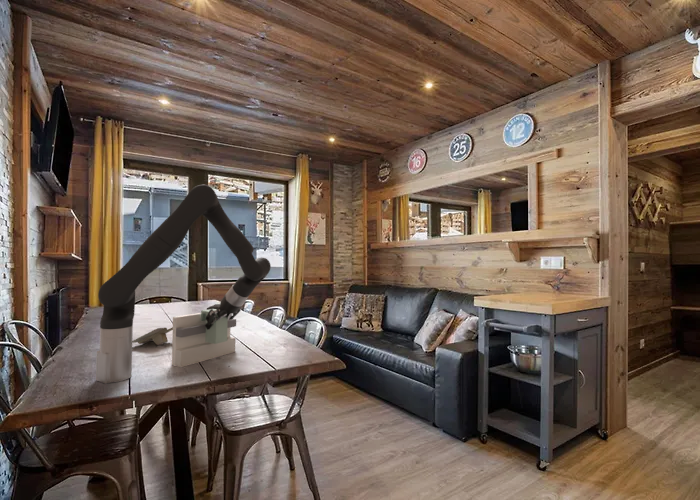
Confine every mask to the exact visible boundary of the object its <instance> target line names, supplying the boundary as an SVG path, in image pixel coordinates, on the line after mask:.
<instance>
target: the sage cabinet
mask: <svg viewBox="0 0 700 500" xmlns="http://www.w3.org/2000/svg"><path fill="white" fill-rule="evenodd" d="M210 310H211V309H209V310H207V309H204V310H200V313H201V321H205V320H206V319H205V318H206V317H207V315H208V313H209V311H210ZM214 310H217V309H213V311H214ZM216 317H218V315H217V313H216ZM218 318H219V317H218ZM213 320H215V318H213ZM206 323H207V320H206ZM227 325H228V319H227V318H226V317H223V318H221V319H220V320H219V321H216V322H215V323H214V324H213V325H212V327H211V328H210V329H208V330H207V328H206V342H209V343H214V344H217V343H221V342H225V341H227Z"/></svg>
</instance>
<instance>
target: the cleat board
mask: <svg viewBox="0 0 700 500" xmlns="http://www.w3.org/2000/svg"><path fill="white" fill-rule="evenodd" d="M205 325H206V320H205V321H201V312H198V313H191V314H185V315H178V316H173V317H172V327H173V330H172V337H171V338H172V340H171V341H172V344H171V366H175V367H177V368H183V367H186V366H190V365H194V364H198V363H201V362H204V361H208V360H212V359H215V358H219V357H222V356H225V355H226V356H227V355H229V354H232V353H236V337H233V336H231V328H235V327H237V318H233V319H232V320H230V319H229V320H228V325H227V341H225V342H221V343H217V344H214V343H209V342H206V326H205Z"/></svg>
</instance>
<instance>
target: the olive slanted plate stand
mask: <svg viewBox="0 0 700 500" xmlns="http://www.w3.org/2000/svg"><path fill="white" fill-rule="evenodd" d="M171 331H173V326H172V327H170V328H167V327H158V328H155V329H154V330H152V331H149V332H147V333H145V334H144V335H142V336H139V337H138V338H136V339H132V344H134V343H137V344H138V345H143V344H147V343H148V342H152V341H153V342H154V344H155V345H156V346H162V345H164V344H166V343H168V342H169V340H168V337H167V333H169V332H171Z"/></svg>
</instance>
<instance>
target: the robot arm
mask: <svg viewBox="0 0 700 500" xmlns="http://www.w3.org/2000/svg"><path fill="white" fill-rule="evenodd" d="M218 198H219V197H218V195H217V192H216V191H215V190H214V189H213V187H211V186H210V185H207V184H199V185H196V186H193V187H192V189H191V190H190V191H189V192H188V193H187V194H186V195H185V197H184V199H183V200H182V201H181V203H180V204H179V205H178V206H177V207H176V208H175V210H174V211H173V212H172V213H171V214H170V215H168V217H167V218H166V219H165V220H164V221H163V222H161V224H160V225H159V226H158V227H157V228H156V229H155V230H153V232H152V233H151V234H150V235H148V237H147V238H146V239H145V240H144V241H143V243H142V244H141V245H140V246H139V247H138V249H137V250H136V251H135V252H134V254H132V256H131V257H130V259H129V260H128V261H127V262H126V264H125V265H124V266H122V267H121V268H120V269H119V270H118V271H117V272H115V273H114V274H113V275H112V276H111V277H110V278H109V279H108V280H107V281H105V282H104V283H103V284H102V285H101V286H100V288H99V290H98V295H97V296H98V297H97V298H98V300H99V302H100V304H101V305H102V306H103V307H102V308H103V312H102V315H101V318H100V322H99V350H97V351H96V356H95V357H96V360H95V361H96V362H95V363H96V364H95V381H97V382H99V383H102V384H110V383H117V382H121V381H125V380H128V379H130V378H131V377H132V375H133V373H132V371H133V343H132V341H133V333H134V332H133V331H134V329H133V328H134V327H133V325H134V318H135V310H136V290H137V288H138V287H139V285H140V284H142V282H143V281H144V280H145V279H146V278H147V277H148V276H149V275H150V274H151V273H152V272H154V271H155V270H157V269H158V268H159V267H161V266H162V265H163V263H165V262H166V261H167V260H168V258H170V257H171V256H172V255H173V254H174V253H175V252H176V250H177V249H178V248H179V247H180V245H181V244H182V243H183V241H184V239H185V237H186V236H187V234H188V232H189V230H190V229H191V227H192V225H193V224H194V223H195V222H196V221H197V220H199V218H200V217H201V216H203V218H205V219H206V220H207V221H208V222H209V223H210V224H211V225H212V226H213V227H214V229H215V230H216V231H217V233H218V234H219V235H220V237H221V239H222V240H223V242H224V243H225V244H226V246H227V247H228V248H229V250H230V251H231V252H232V254H233V255H234V256H235V258H236V259H237V262H238V264H239V266H240V269H241V270H242V272H243V274H242V275H241V276H239V278H238V279H236V281H235V283H234V284H232V286H231V287H230V288H229V290H228V291H227V292H226V293H225V294H224V296H223V297H222V299H221V300H220V303H219V304H220V307H219V308H217V310H214V311H213V309H211V310H210V311H209V313H208V315H207V317H206V318H205V319H206V320H207V323H206V325H205V326H206V328H207V330H208V329H210V328H211V327H212V325H213V324H214V323H215V322H216V321H219V320H220V319H221V318H223V317H226V318H227V319H228V320H229V319H230V320H232V319H235V317H236V316H237V315H238V314H239V313H241V308H242V307H243V305H244V304H245V303H246V302H247V299H248V298H249V296H250V295H251V294H252V293H253V292H254V290H255V288H257V286H258V285H259V284H260V283H261V282H262V281H263V280H264V279H265V278H266V277H267V275H268V274H269V273H270V271H271V267H272V266H271V262H270V261H269V259H268V258H267V257H262V256H261V257H257V258H255V257H254V254H253V252H254V249H255V248H254V246H253V245H252V243H251V241H249V240H248V238H247V237H246V236H245V234H244V233H243V232H242V231H241V230H240V229H239V228H238V227H237V225H236V224H235V223H234V222H233V221H232V220H231V219H230V217H229V216H228V215H227V213H226V212H225V211H224V209H223V207H222V205H221V203H220V201H219V199H218ZM216 313H217V315H218V317H219V318H218V317H216ZM213 318H215V320H213Z"/></svg>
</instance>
